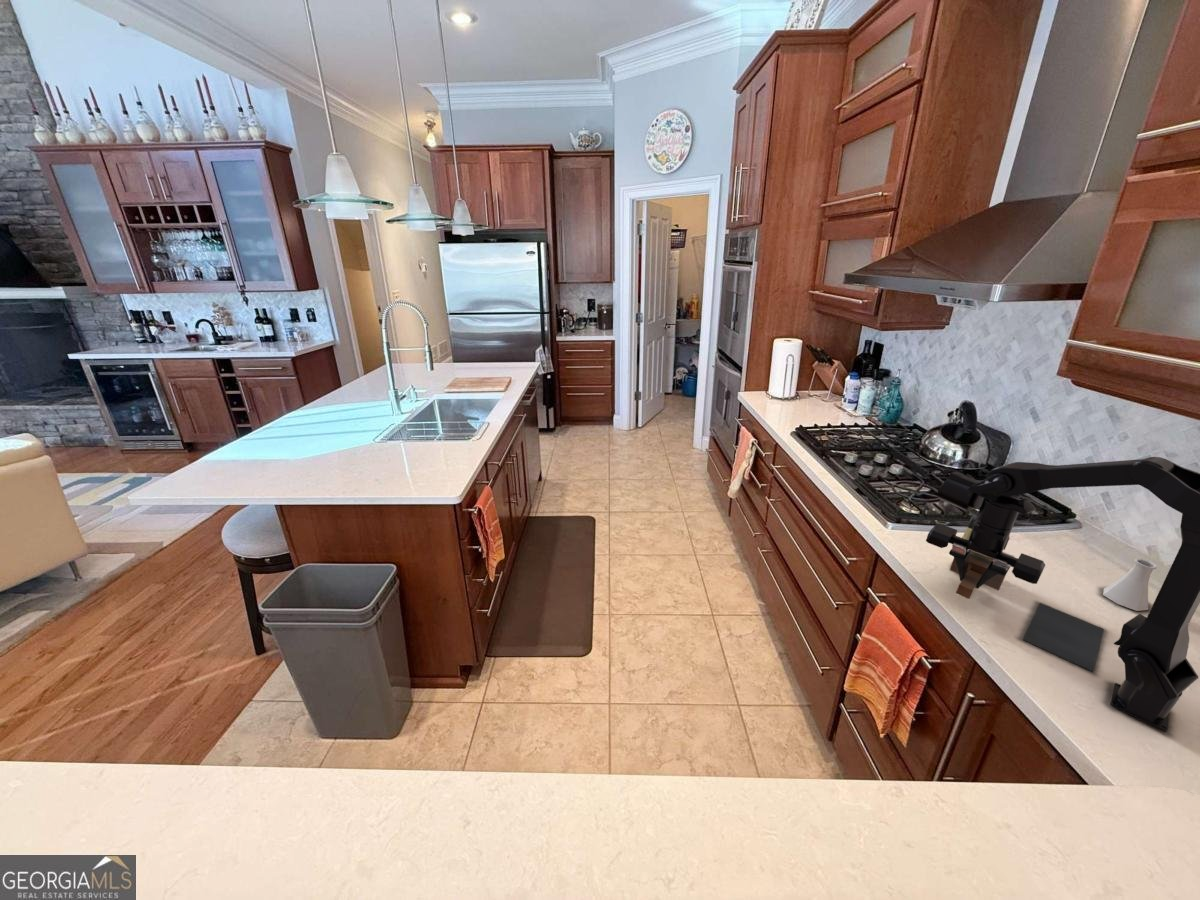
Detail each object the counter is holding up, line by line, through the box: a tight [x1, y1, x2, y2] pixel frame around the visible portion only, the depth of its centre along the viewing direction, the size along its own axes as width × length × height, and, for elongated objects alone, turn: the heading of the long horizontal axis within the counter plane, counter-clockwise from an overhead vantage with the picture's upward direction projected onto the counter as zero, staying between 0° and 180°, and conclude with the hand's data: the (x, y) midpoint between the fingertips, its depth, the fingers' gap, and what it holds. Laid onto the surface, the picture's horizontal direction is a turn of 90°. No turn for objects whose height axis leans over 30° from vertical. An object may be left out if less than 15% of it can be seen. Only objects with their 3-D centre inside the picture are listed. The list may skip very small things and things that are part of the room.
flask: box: [1102, 558, 1158, 612], centre depth 101 cm, size 7×7×10 cm
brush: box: [949, 554, 1007, 600], centre depth 101 cm, size 13×9×4 cm
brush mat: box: [1022, 602, 1104, 673], centre depth 94 cm, size 16×10×1 cm, turn 130°
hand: (969, 584), depth 100 cm, fingers closed on brush, 2 cm apart
